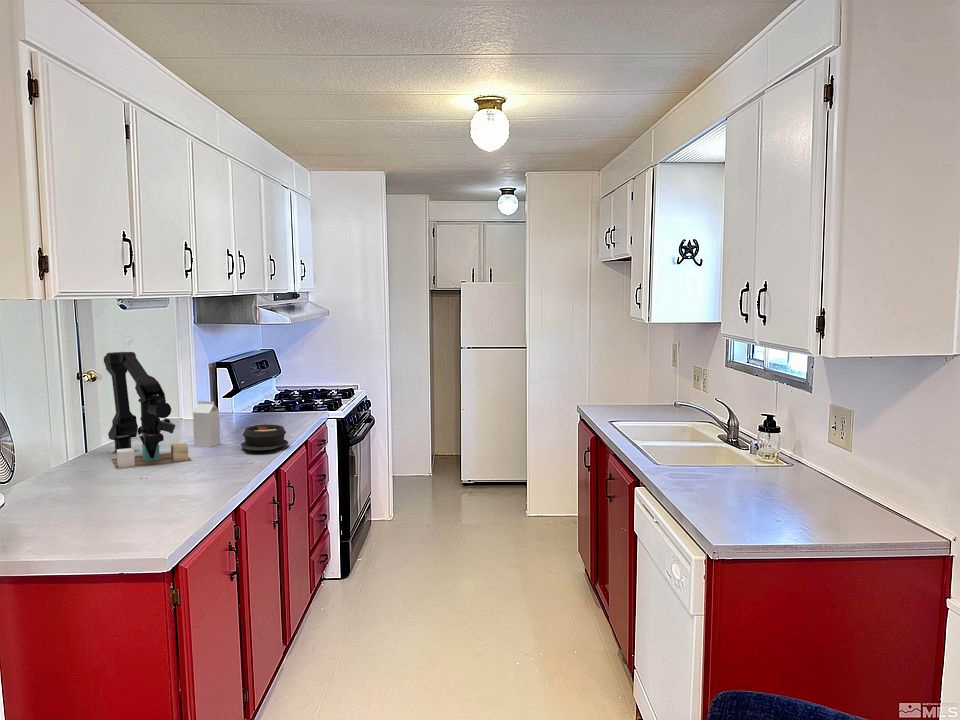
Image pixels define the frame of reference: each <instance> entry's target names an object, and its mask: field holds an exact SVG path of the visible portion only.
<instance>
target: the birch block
mask: <svg viewBox="0 0 960 720" xmlns="http://www.w3.org/2000/svg"><path fill="white" fill-rule="evenodd" d="M170 453H171V459H172V460H173V461H182V460H188V457H189V445H188V444H187V443H186V442H178V443H170Z"/></svg>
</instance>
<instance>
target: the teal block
mask: <svg viewBox="0 0 960 720" xmlns="http://www.w3.org/2000/svg"><path fill="white" fill-rule="evenodd" d="M141 446H142V447H141V448H142V456H143V460H144V461H154V460H160V455H159V454H160V444H159V443H158V444H157V447H156V451H155V455H154V458H150V456H149V453H148V451H147V449H146V447H145V445H144V444H143V443H142V445H141Z"/></svg>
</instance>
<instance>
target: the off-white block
mask: <svg viewBox="0 0 960 720" xmlns="http://www.w3.org/2000/svg"><path fill="white" fill-rule="evenodd" d="M134 456H135V450H134V448H133V447H131V448H127V449H117V452H116V458H117V465H118V467H119V468H120V467H129V466H135V460H134Z"/></svg>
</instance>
